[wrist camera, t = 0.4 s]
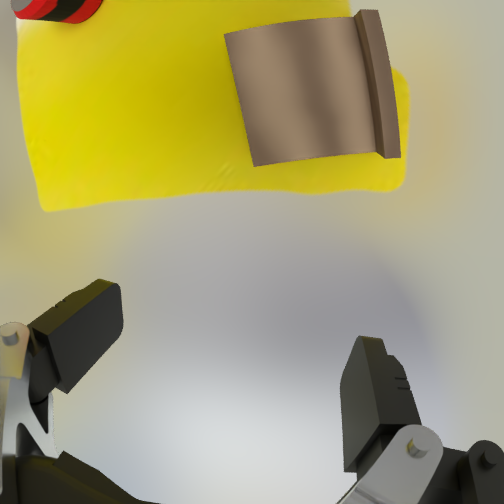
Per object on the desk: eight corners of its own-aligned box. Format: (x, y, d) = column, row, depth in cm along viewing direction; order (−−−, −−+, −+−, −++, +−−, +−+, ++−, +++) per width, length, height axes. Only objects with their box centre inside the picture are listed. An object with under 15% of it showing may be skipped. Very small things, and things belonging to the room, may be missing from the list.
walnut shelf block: (259, 154, 34) (250, 175, 26) (234, 43, 27) (216, 28, 20) (375, 140, 31) (400, 157, 24) (356, 28, 24) (377, 9, 17)
